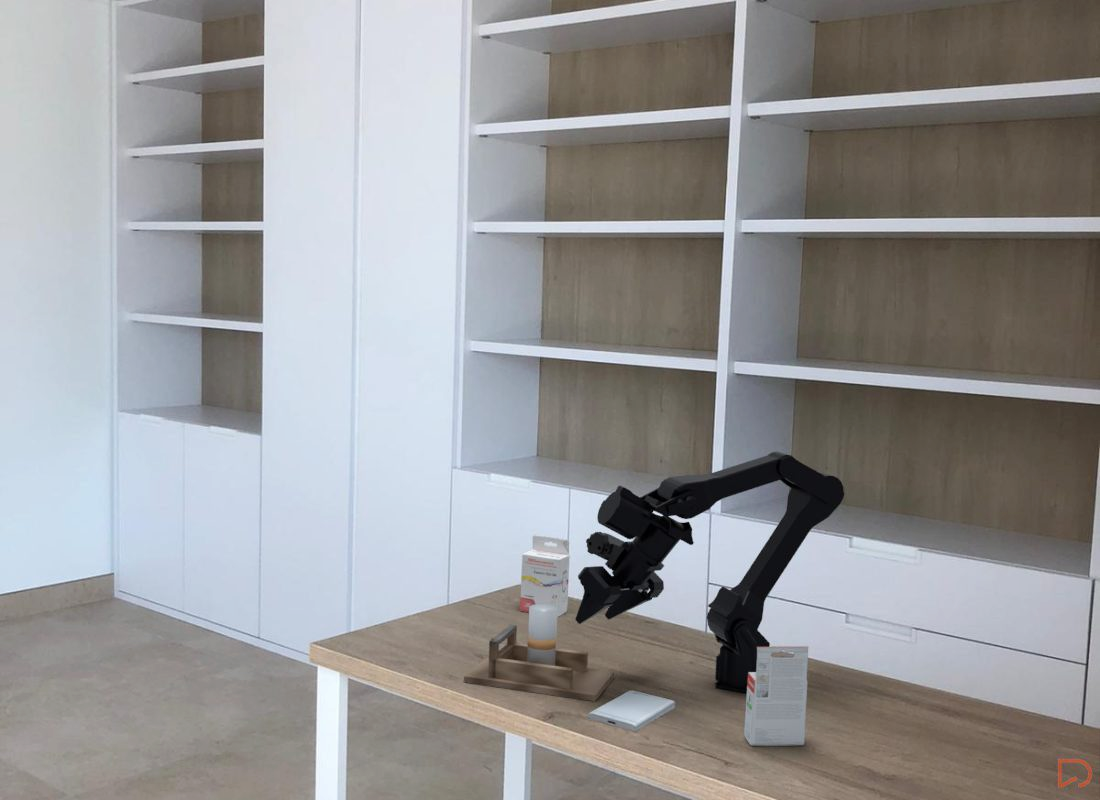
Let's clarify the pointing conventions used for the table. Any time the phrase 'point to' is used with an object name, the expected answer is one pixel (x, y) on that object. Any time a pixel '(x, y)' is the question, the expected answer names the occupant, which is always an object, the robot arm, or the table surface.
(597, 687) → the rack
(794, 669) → the ink box
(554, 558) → the ink cartridge box
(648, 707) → the hard drive
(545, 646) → the white capped grey cylinder
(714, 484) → the robot arm
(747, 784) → the table surface
